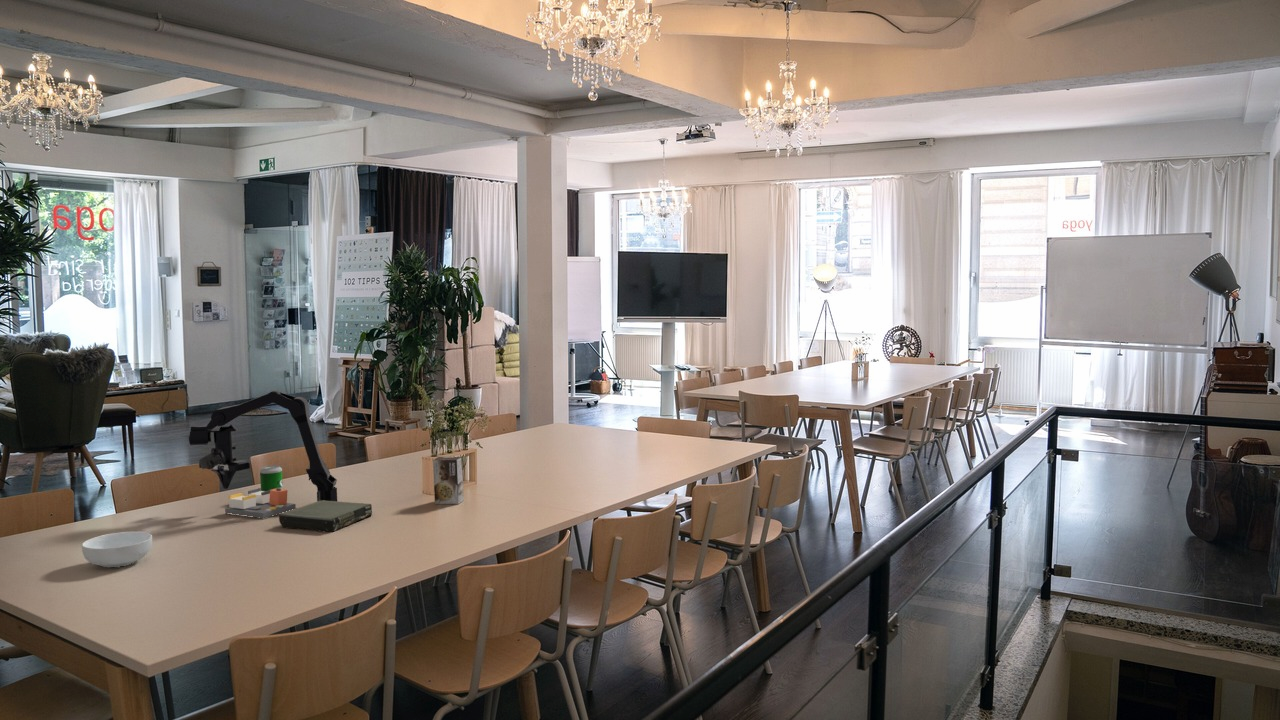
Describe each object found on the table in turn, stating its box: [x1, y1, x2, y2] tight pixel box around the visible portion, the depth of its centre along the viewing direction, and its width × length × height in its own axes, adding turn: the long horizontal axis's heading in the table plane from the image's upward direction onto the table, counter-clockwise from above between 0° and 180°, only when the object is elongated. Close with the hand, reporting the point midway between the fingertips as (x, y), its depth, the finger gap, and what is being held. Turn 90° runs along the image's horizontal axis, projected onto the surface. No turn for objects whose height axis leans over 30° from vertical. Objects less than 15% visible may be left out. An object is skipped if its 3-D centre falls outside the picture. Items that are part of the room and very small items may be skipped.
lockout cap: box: [269, 488, 288, 506], centre depth 304 cm, size 4×4×6 cm
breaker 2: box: [247, 487, 270, 504], centre depth 308 cm, size 7×5×4 cm
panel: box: [224, 502, 296, 519], centre depth 303 cm, size 18×14×2 cm
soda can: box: [259, 465, 284, 491], centre depth 322 cm, size 8×8×12 cm
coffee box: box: [432, 456, 464, 505], centre depth 313 cm, size 9×6×16 cm
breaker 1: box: [228, 492, 256, 509], centre depth 300 cm, size 7×5×4 cm
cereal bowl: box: [81, 531, 153, 568], centre depth 244 cm, size 17×17×7 cm
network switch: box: [278, 500, 373, 533], centre depth 287 cm, size 23×24×5 cm
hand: (225, 488), depth 304 cm, fingers closed
